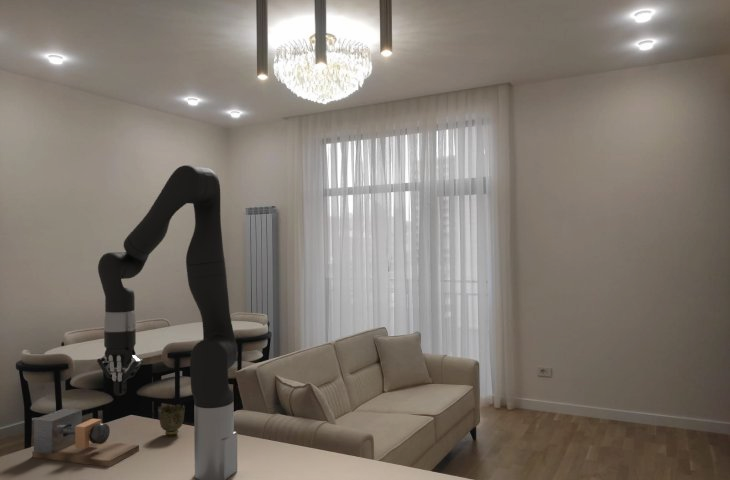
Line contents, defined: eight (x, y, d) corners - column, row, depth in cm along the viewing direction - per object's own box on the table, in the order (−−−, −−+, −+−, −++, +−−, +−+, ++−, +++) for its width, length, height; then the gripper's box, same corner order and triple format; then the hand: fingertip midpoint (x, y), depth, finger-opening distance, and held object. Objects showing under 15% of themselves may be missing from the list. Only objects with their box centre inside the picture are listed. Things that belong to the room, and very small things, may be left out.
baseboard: (139, 450, 146) (139, 445, 146) (109, 466, 135) (109, 460, 135) (65, 442, 153) (65, 437, 153) (32, 457, 142) (32, 451, 142)
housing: (81, 440, 150) (81, 409, 150) (52, 453, 140) (52, 421, 140) (64, 438, 152) (64, 408, 152) (33, 451, 142) (33, 419, 142)
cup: (176, 440, 154) (176, 412, 154) (153, 438, 155) (153, 410, 155) (189, 431, 161) (189, 404, 161) (167, 429, 163) (167, 403, 163)
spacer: (102, 440, 146) (101, 419, 146) (84, 448, 140) (84, 427, 140) (92, 439, 147) (92, 418, 147) (75, 447, 141) (75, 426, 141)
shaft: (109, 440, 144) (109, 421, 144) (95, 446, 140) (95, 427, 140) (73, 436, 148) (73, 417, 148) (58, 442, 143) (58, 423, 143)
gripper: (88, 329, 139) (88, 396, 139) (131, 331, 135) (131, 400, 135) (109, 325, 146) (109, 389, 146) (150, 327, 143) (151, 392, 142)
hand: (120, 394), depth 141 cm, fingers closed
